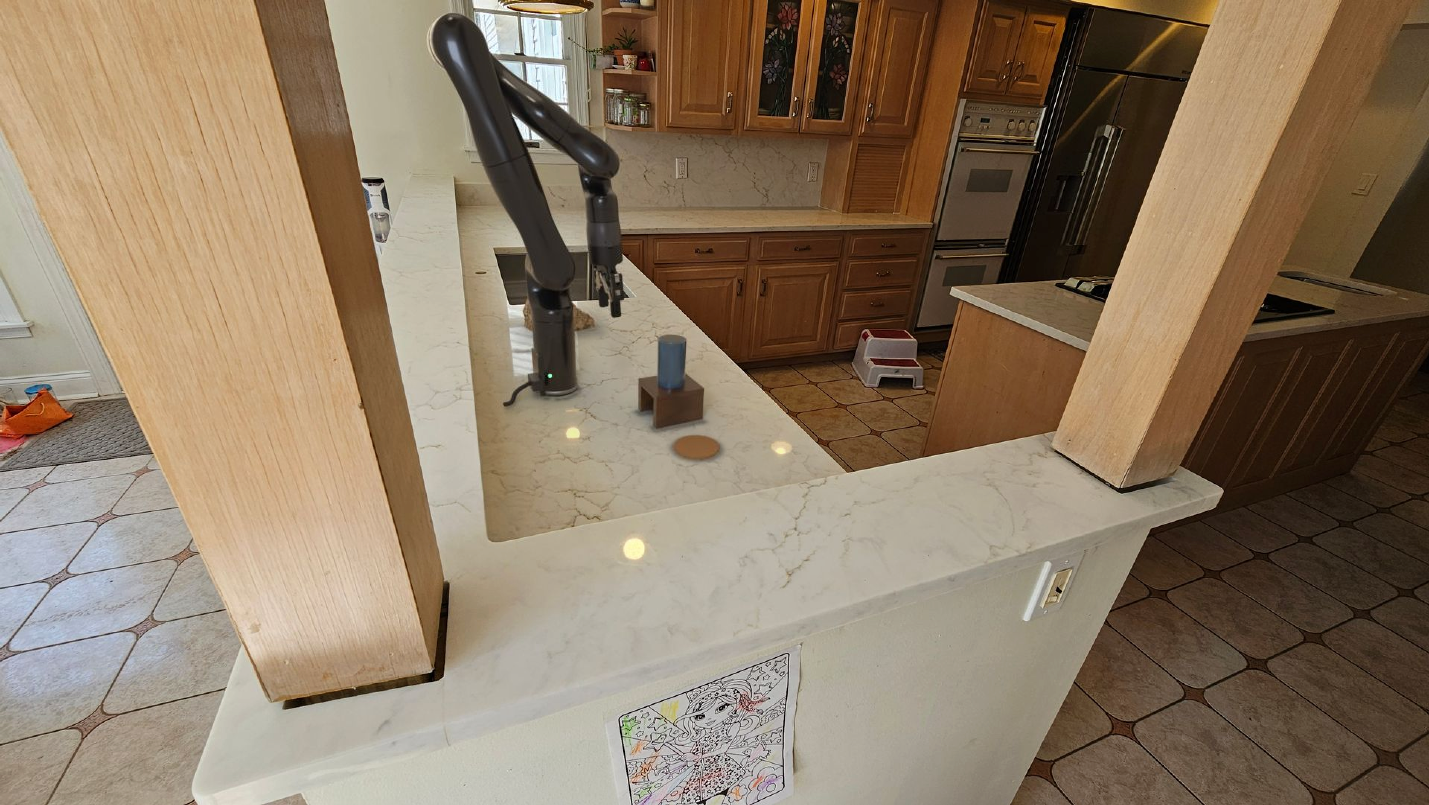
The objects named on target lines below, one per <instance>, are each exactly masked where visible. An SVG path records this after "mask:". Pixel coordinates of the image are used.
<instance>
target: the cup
mask: <svg viewBox="0 0 1429 805" xmlns="http://www.w3.org/2000/svg"><path fill="white" fill-rule="evenodd" d="M687 341H688V340H687V338H686V337H685V336H683V335H680V334H663V335H660V336H658V337H657V353H656V354H657V358H656V359H657V360H656V376H657V384H658V385H659V386H660V387H663V388H668V389H676V388H680V387H683V386H684V385H685V373H686V368H687V366H686V365H687V345H688V344H687V343H688V342H687Z"/></svg>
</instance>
